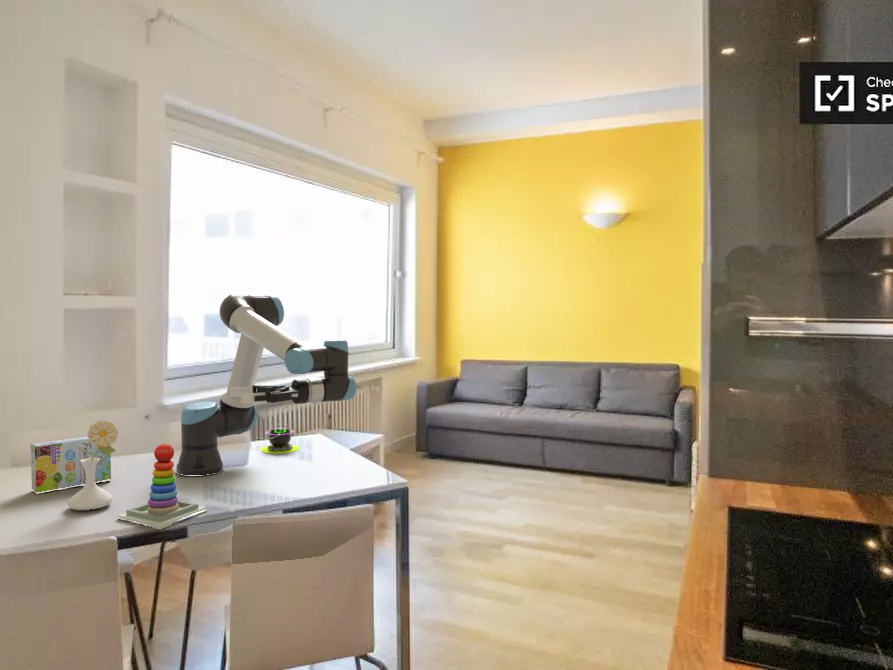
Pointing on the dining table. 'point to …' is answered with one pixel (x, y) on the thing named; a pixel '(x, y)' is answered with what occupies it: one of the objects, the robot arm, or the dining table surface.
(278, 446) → the toy cauldron
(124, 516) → the base plate
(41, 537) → the dining table surface
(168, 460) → the stacking toy
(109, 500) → the flower in vase
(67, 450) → the snack box
